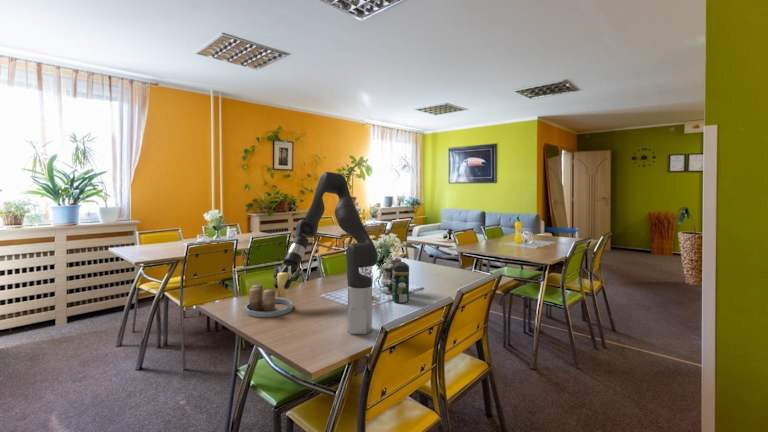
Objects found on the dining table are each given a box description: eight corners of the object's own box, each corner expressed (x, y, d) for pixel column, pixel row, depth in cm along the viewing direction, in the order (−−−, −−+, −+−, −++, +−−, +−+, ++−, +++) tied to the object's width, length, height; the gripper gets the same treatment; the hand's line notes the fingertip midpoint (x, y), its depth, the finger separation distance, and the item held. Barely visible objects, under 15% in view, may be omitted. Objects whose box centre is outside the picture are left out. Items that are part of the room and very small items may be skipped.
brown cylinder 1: (258, 313, 156) (258, 290, 155) (247, 313, 156) (247, 290, 155) (262, 310, 161) (262, 287, 160) (252, 310, 161) (251, 287, 160)
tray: (284, 317, 152) (284, 313, 152) (236, 316, 152) (236, 311, 152) (297, 302, 172) (297, 298, 172) (255, 301, 172) (255, 297, 172)
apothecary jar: (403, 289, 197) (404, 256, 196) (404, 296, 185) (404, 260, 184) (381, 289, 198) (381, 255, 196) (380, 295, 186) (380, 260, 184)
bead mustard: (286, 297, 161) (286, 274, 161) (276, 297, 162) (276, 274, 161) (289, 294, 166) (289, 272, 165) (279, 294, 166) (279, 272, 165)
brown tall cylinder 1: (260, 309, 161) (260, 287, 161) (250, 309, 162) (249, 287, 161) (264, 306, 166) (263, 284, 165) (254, 306, 166) (253, 284, 165)
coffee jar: (391, 297, 182) (391, 260, 181) (407, 297, 182) (407, 260, 181) (392, 303, 172) (393, 264, 171) (409, 303, 173) (410, 264, 171)
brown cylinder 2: (272, 315, 154) (272, 292, 153) (262, 315, 154) (261, 292, 153) (276, 312, 159) (276, 289, 158) (265, 311, 159) (265, 289, 158)
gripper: (278, 250, 171) (262, 281, 161) (305, 252, 167) (291, 285, 157) (284, 259, 177) (269, 290, 166) (311, 261, 173) (298, 293, 162)
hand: (280, 287), depth 162 cm, fingers closed on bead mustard, 4 cm apart
